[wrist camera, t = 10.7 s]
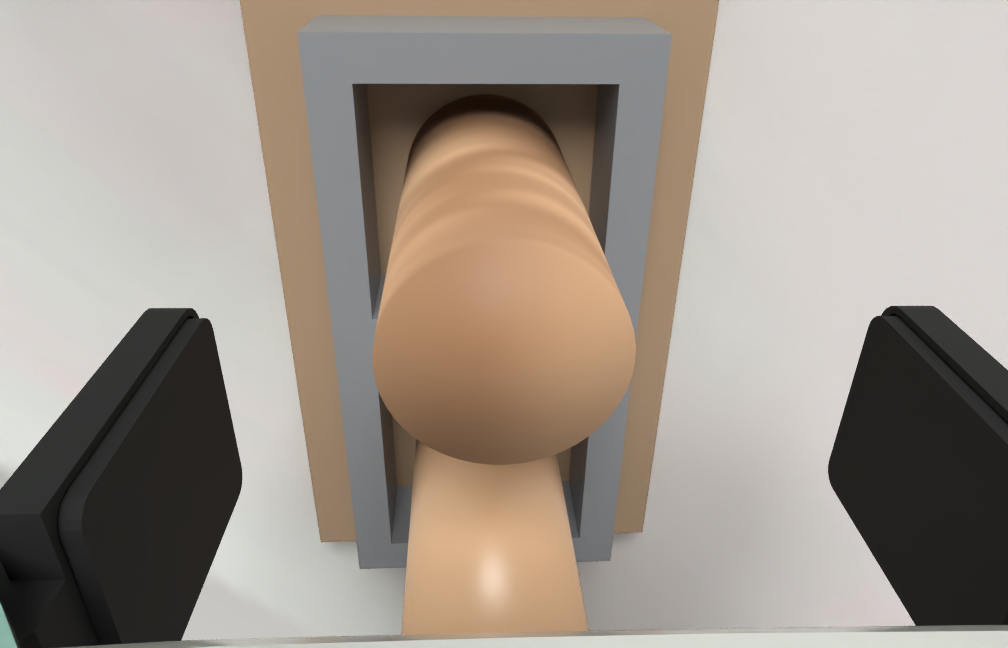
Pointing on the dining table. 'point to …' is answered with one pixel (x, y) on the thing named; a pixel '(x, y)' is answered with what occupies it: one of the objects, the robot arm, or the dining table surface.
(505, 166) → the switch lever
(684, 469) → the dining table surface
